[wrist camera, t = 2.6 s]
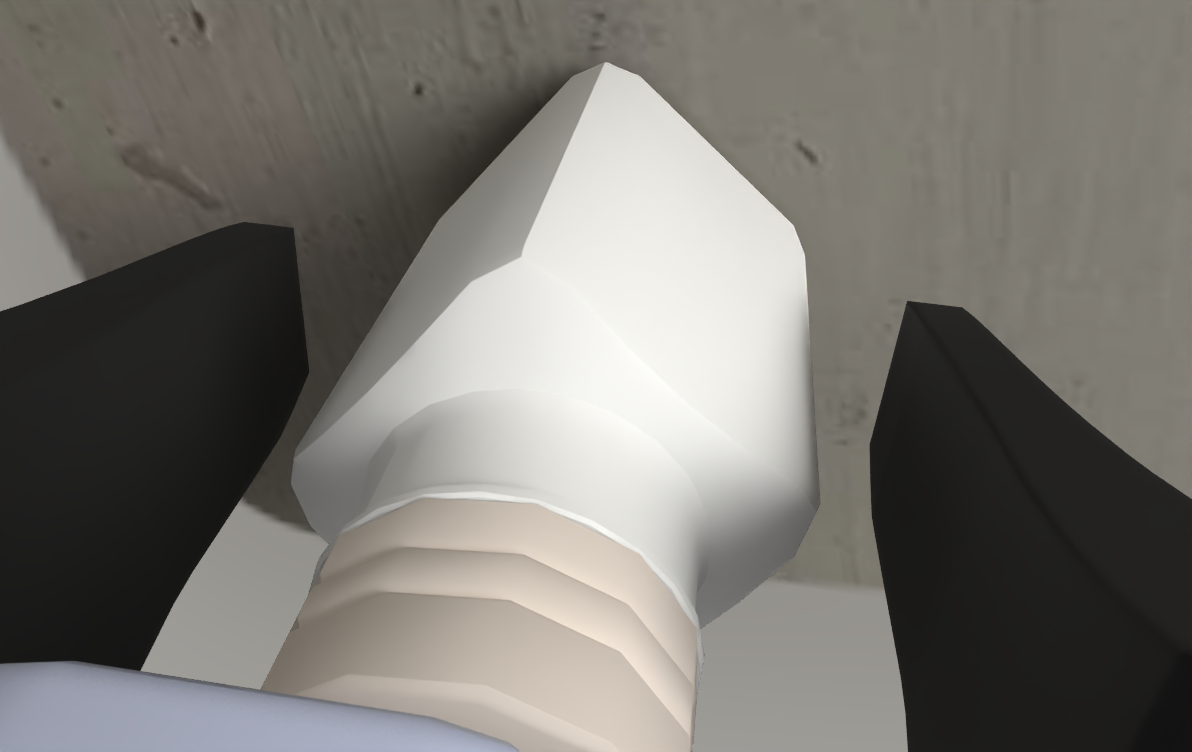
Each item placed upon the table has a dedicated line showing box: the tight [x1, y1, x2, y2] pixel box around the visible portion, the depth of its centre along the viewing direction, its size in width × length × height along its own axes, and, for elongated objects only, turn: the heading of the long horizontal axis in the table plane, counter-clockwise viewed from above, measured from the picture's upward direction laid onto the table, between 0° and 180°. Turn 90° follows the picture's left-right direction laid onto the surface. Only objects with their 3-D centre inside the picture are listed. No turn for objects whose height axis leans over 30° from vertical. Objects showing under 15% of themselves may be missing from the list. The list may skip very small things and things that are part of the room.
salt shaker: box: [260, 62, 820, 752], centre depth 11 cm, size 4×4×10 cm
